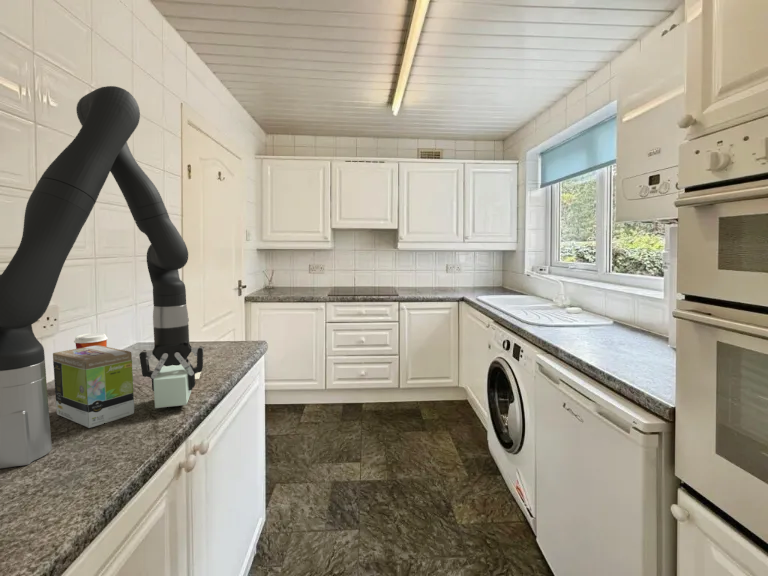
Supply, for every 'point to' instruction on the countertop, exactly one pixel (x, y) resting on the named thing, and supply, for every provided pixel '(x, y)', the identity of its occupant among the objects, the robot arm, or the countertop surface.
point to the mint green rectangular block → (171, 387)
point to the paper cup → (91, 340)
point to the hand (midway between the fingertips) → (174, 390)
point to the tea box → (93, 384)
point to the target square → (197, 375)
